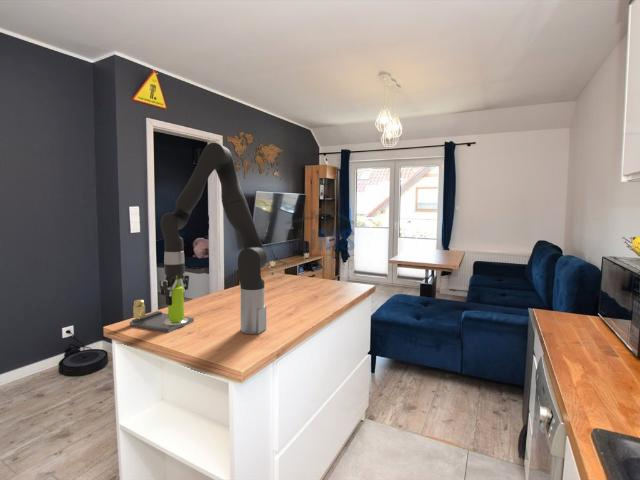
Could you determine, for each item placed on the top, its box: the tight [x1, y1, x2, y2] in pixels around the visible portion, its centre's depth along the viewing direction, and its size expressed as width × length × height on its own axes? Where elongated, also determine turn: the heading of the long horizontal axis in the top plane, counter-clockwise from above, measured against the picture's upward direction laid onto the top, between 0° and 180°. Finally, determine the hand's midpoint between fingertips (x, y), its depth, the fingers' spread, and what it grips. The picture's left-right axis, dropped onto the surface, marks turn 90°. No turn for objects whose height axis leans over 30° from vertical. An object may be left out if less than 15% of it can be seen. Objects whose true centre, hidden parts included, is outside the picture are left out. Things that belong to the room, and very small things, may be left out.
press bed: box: [129, 310, 195, 333], centre depth 142 cm, size 21×14×2 cm
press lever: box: [132, 299, 146, 319], centre depth 140 cm, size 4×4×7 cm
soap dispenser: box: [163, 271, 185, 321], centre depth 139 cm, size 6×7×20 cm
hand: (175, 302), depth 140 cm, fingers closed on soap dispenser, 6 cm apart
